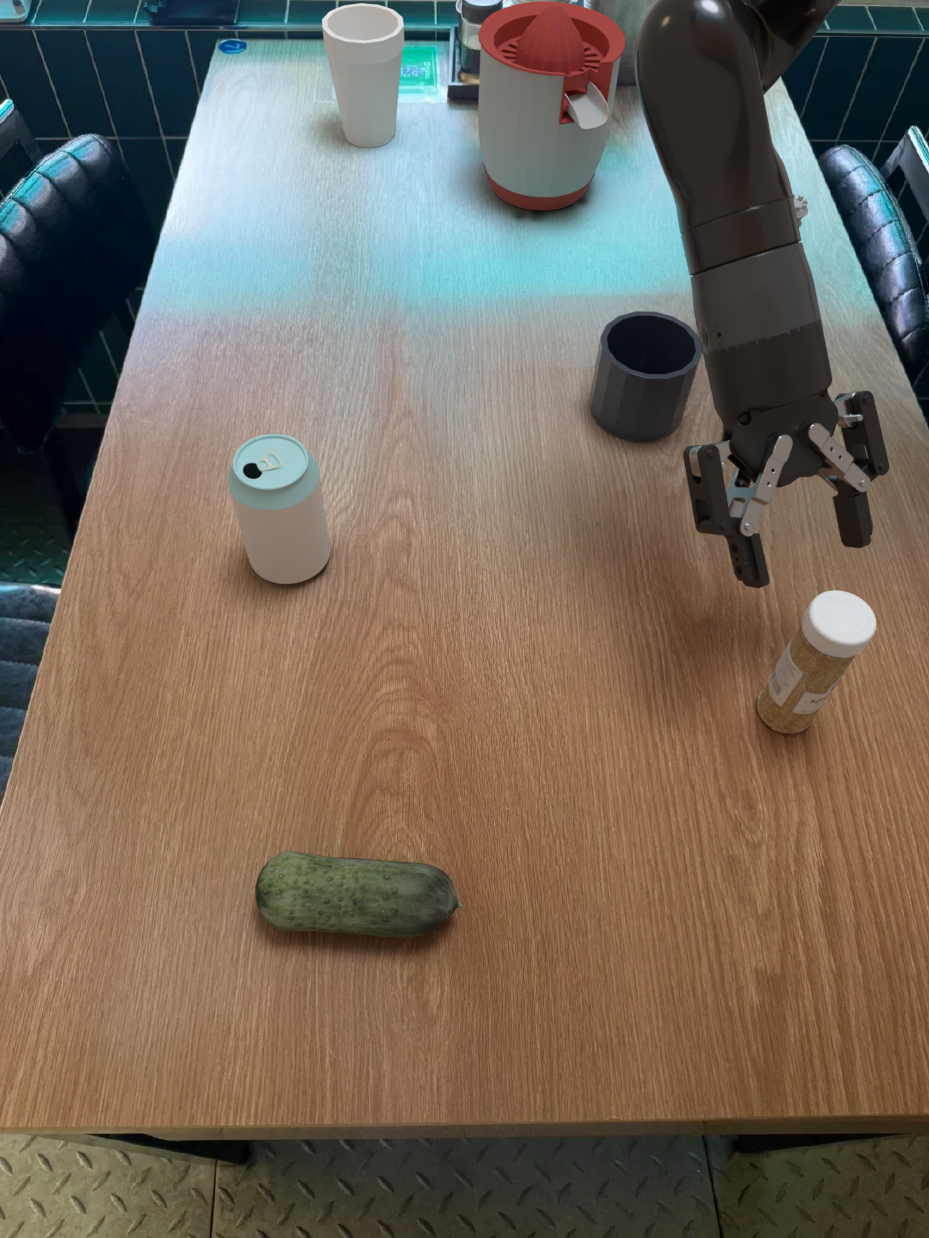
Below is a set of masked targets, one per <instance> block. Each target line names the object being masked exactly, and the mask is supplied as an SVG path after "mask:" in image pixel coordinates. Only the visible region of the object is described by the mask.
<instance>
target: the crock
mask: <svg viewBox="0 0 929 1238" xmlns="http://www.w3.org/2000/svg"><path fill="white" fill-rule="evenodd" d="M702 356H703V352H702V347H701V343H700V339H699V335H698V334H697V333H696V332H695V330H694V329H693V328H692V327H691V325H689V324H687V323H685V322H684V321H682V320H680V319H679V318H677V317H675V316H673V315H669V314H665V313H662V312H659V311H652V310H651V311H650V310H649V311H646V310H645V311H644V310H636V311H632V312H629V313H624V314H621V315H618V316H616V317H614V319H612V320H611V321H610V322H608V323H607V324H606V325H605V326H604V329H603V330H602V332H601V334H600V338H599V343H598V349H597V355H596V358H595V359H596V360H595V364H594V365H595V366H594V369H593V370H594V371H593V376H592V382H591V389H590V393H589V397H590V398H589V412H590V414H591V416H592V418H593V420H594V421H595V423H596V424H597V425H598V426H599V427H600V428H601V429H602V430H603V431H605V432H607V433H608V434H609V435H612V436H614V437H616V438H617V439H622V440H625V441H627V442H633V443H635V442H636V443H649V442H655V441H659V440H662V439H664V438H666V437H668V436H670V435H671V434H673V433H674V432H675V431H676V430H677V429H678V428H679V426H680V424H681V422H682V421H683V416H684V414H685V411H686V408H687V405H688V402H689V398H690V394H691V392H692V388H693V384H694V382H695V378H696V375H697V372H698V368H699V364H700V362H701V359H702Z"/></svg>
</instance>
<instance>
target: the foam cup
mask: <svg viewBox="0 0 929 1238" xmlns="http://www.w3.org/2000/svg"><path fill="white" fill-rule="evenodd" d="M321 26H322V36H323V46H324V47H323V48H324V51H325V52H326V54H327V60H328V64H329V69H330V74H331V78H332V83H333V88H334V92H335V98H336V101H337V106H338V111H339V115H340V120H341V125H342V130H343V133H344V138H345V139H346V140H347V141H348V143H350V144H352V145H354V146H356V147H360V148H368V149H369V148H371V149H373V148H377V147H382V146H384V145H387V144H388V143H390V142H392V140H393V138H394V137H395V132H396V125H397V124H396V123H397V113H398V101H399V92H400V91H399V90H400V80H401V72H402V71H401V69H402V61H403V60H402V59H403V50H404V49H405V25H404V18H403V16H402V15H401V14H399V13H398V12H397V11H396V10H395V9H392V8H390V7H387V6H384V5H380V4H375V3H362V2H361V3H353V4H352V3H351V4H345V5H342V6H339V7H337V8H334V9H331V10H330V11H328V12H327V14H326V15H325V16H324V17H323V18H322V19H321Z"/></svg>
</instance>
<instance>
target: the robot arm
mask: <svg viewBox="0 0 929 1238" xmlns="http://www.w3.org/2000/svg"><path fill="white" fill-rule="evenodd" d="M841 2H842V0H657V1H656V2H655V3H654V4H653V5H652V7H651V8H650V9H649V11H648V13H647V14H646V16H645V18H644V20H643V22H642V24H641V26H640V29H639V32H638V36H637V39H636V43H635V48H634V63H633V64H634V77H635V83H636V89H637V95H638V97H639V103H640V106H641V110H642V114H643V117H644V120H645V123H646V126H647V130H648V132H649V136H650V138H651V141H652V144H653V146H654V149H655V152H656V155H657V158H658V161H659V164H660V167H661V169H662V171H663V173H664V176H665V179H666V181H667V184H668V186H669V188H670V191H671V195H672V198H673V201H674V205H675V209H676V215H677V216H676V217H677V223H678V229H679V232H680V239H681V243H682V248H683V252H684V256H685V257H684V258H685V261H686V265H687V270H688V275H689V276H690V277H689V280H690V286H691V291H692V292H691V295H692V306H693V314H694V320H695V325H696V329H697V333H698V334H697V335H698V337H699V339H700V343H701V347H702V356H703V361H704V365H705V370H706V374H707V379H708V384H709V388H710V391H711V393H710V394H711V397H712V402H713V406H714V410H715V412H716V413H717V415H718V417H719V419H720V421H721V423H722V424H721V425H722V433H721V434H722V436H721V438H720V439H721V440H719V441H716V442H711V443H708V444H695V445H692V444H691V445H688V446H686V447H685V448H684V450H683V451H682V458H683V464H684V465H683V466H684V471H685V475H686V483H687V487H688V493H689V499H690V504H691V510H692V514H693V515H692V517H693V520H694V522H693V523H694V526H695V530H696V531H697V532H698V533H700V534H704V535H712V536H713V535H714V536H723V537H724V538H725V540H726V543H727V547H728V552H729V555H730V561H731V565H732V569H733V574H734V576H735V577H736V579H737V581H740V582H742V584H743V585H744V586H745V587H748V588H754V589H761V588H764V587H766V586H769V585H770V582H771V579H770V576H769V570H768V566H767V560H766V557H765V553H764V552H765V551H764V548H763V543H762V538H761V533H759V532H756V530H757V527H758V525H759V521H760V519H761V516H762V513H763V511H764V508H765V507H766V506H767V505H768V504H769V503H770V502H771V501H772V499H773V496H774V493H775V491H776V488H781V489H782V488H783V487H787V486H789V485H791V484H792V483H794V482H795V481H797V480H798V479H799V478H810V477H813V476H817V477H819V478H821V479H822V480H823V481H824V482H825V483H826V484H827V485H828V486H829V487H831V489H833V490H834V491H835V492H837V494H835V495H833V496H832V502H833V507H834V512H835V517H836V522H837V527H838V532H839V537H840V542H841V544H842V545H843V546H844V547H846V548H853V549H862V548H864V547H867V546H869V545H871V543H872V538H871V536H873V530H874V525H873V520H872V514H871V508H870V503H869V497H868V490H869V489H870V486H871V483H872V482H873V481H875V480H876V479H877V478H878V477H879V476H883V477H884V476H885V475H887V474H888V472H889V470H890V468H891V467H890V466H891V465H890V461H889V456H888V451H887V448H886V443H885V440H884V435H883V432H882V431H883V430H882V427H881V423H880V418H879V414H878V410H877V409H878V408H877V406H876V401H875V397H874V394H873V392H872V391H870V390H855V391H848V392H843V393H839V394H838V395H836V397H835V399H834V400H832V398H831V397H830V394H829V388H830V387H831V385H832V383H833V374H832V369H831V363H830V359H829V353H828V349H827V343H826V337H825V331H824V327H823V322H822V317H821V311H820V306H819V301H818V295H817V290H816V286H815V281H814V277H813V273H812V270H811V267H810V264H809V261H808V259H807V255H806V253H805V250H804V245H803V242H801V241H802V237H801V231H800V227H799V225H798V220H797V215H796V210H795V204H794V199H793V194H794V192H793V190H792V186H791V181H790V178H789V174H788V171H787V168H786V166H785V163H784V161H783V159H782V158H781V156H780V154H779V153H778V151H777V149H776V148H775V146H774V142H773V138H772V132H771V127H770V121H769V116H768V111H767V106H766V101H765V95H766V94H767V92H769V91H770V89H771V88H772V87H773V86H774V85H775V84H776V82H777V81H779V79H781V77H782V76H783V74H784V73H785V72H786V71H787V70H788V68H789V67H790V66H791V65H792V64H793V62H794V61H795V60H796V59H797V58H798V56H799V55H800V54H801V53H802V51H803V50H804V49H805V47H806V46H807V45H808V44H809V42H810V41H811V40H812V39H813V37H814V36H815V35H816V34H817V32H818V31H819V30H820V28H821V27H822V26H823V24H824V23H825V22H826V20H827V19H828V18H829V16H830V15H831V14H832V12H833V11H834V10H835V8H836V7H837V6H838V5H839V3H841ZM837 426H838V427H839V428H840V432H841V435H842V439H843V440H842V441H843V445H844V447H845V448H844V447H843V446H842V445H841V444H840V443H839V442H837V440H835V438H834V437H833V436H834V433H835V431H836V427H837ZM727 460H728V461H729V462H731V463H732V464H733V466H735V467H734V469H733V472H732V475H731V478H730V481H729V484H728V487H727V489H726V484H725V478H724V473H725V471H726V470H727V469H728V464H727ZM751 482H752V483H753V485H752V486H750V484H751Z"/></svg>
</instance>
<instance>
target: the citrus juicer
mask: <svg viewBox="0 0 929 1238" xmlns="http://www.w3.org/2000/svg"><path fill="white" fill-rule="evenodd" d="M477 35H478V42H479V44H480V53H479V80H478V107H477V115H478V116H477V118H478V121H477V122H478V123H477V124H478V138H479V139H478V140H479V146H480V152H481V156H482V161H483V165H484V166H483V168H484V171H485V174H486V177H487V179H488V182H489V185H490V187H491V190H492V191H493V192H494V193H495V195H496V196H497V197H499V198H500V199H501V200H503V201H504V202H506V203H508V204H510V205H512V206H515V207H517V208H520V209H521V208H522V209H524V210H526V211H551V210H552V211H553V210H558V209H563V208H565V207H568V206H571V205H572V204H574V203H576V202H578V201H579V200H580V199H581V198H582V196H583V195H584V194H585V192H586V190H587V189H588V187H589V186H590V184H591V182H592V180H593V179H594V177H595V174H596V170H597V169H598V166H599V164H600V162H601V160H602V157H603V154H604V151H605V149H606V146H607V141H608V136H609V131H610V126H611V121H612V116H613V108H614V103H615V95H616V89H617V83H618V77H619V70H620V63H621V58H622V55H623V53H624V52H625V48H626V44H627V43H626V38H625V34H624V32H623V31H622V29H621V27H620V26H619V25H618V24H617V23H616V22H615V21H614V20H613V19H611V18H609V17H608V16H607V15H605V14H603V13H601V12H598V11H596V10H594V9H592V8H588V7H585V6H581V5H578V4H572V3H568V2H560V1H529V2H527V1H526V2H522V3H517V4H512V5H509V6H506V7H503V8H501V9H499V10H496V11H495V12H493V13H491V14H490V15H489V16H488V17H486V18H485V20H484V21H482V23H481V25H480V28H479V29H478V33H477Z"/></svg>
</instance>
